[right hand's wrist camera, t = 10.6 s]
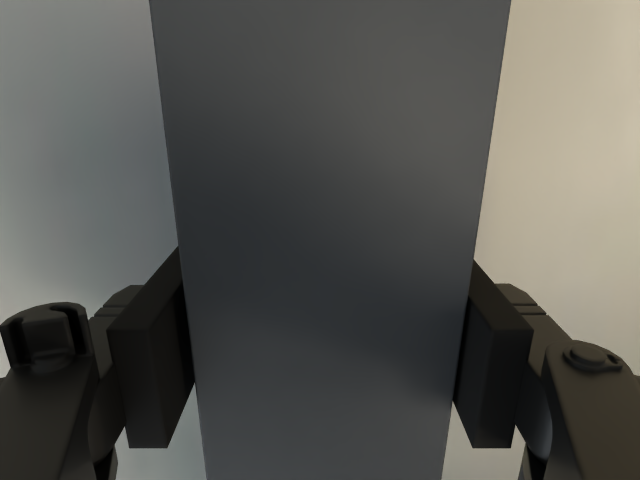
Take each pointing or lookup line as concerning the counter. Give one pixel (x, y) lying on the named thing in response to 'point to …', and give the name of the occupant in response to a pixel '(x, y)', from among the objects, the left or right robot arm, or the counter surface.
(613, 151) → the counter surface
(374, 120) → the post
